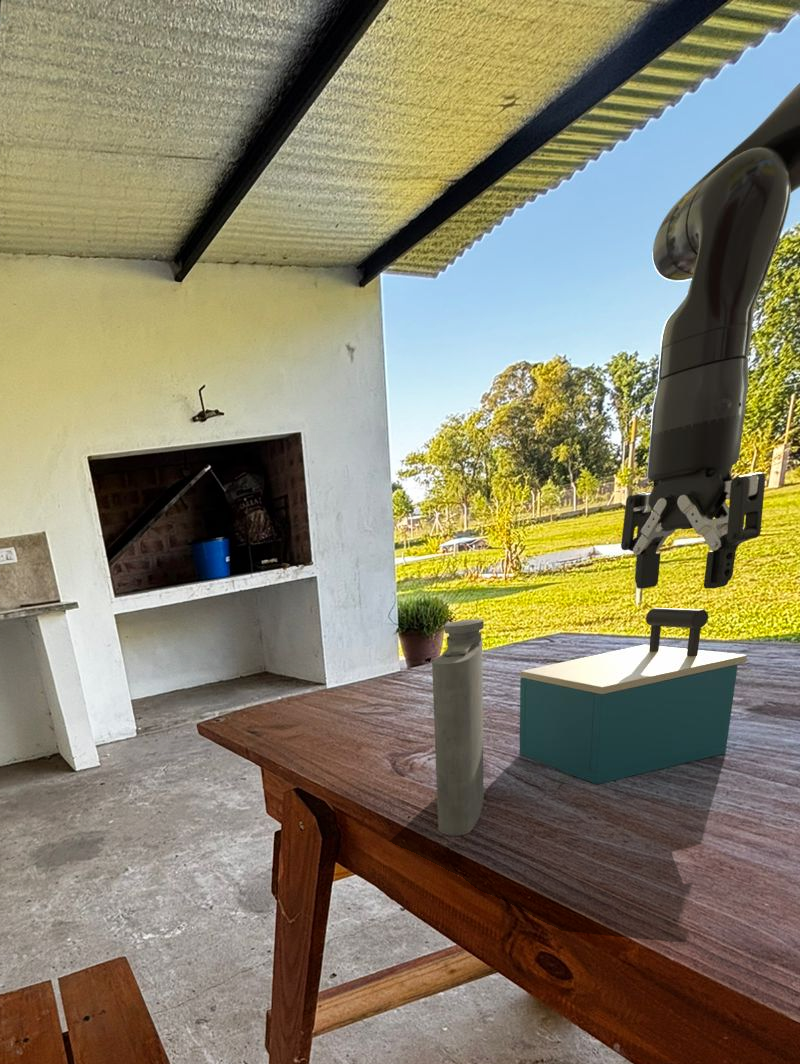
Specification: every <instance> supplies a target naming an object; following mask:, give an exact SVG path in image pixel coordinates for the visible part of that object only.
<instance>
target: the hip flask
mask: <svg viewBox="0 0 800 1064" xmlns="http://www.w3.org/2000/svg"><path fill="white" fill-rule="evenodd" d="M484 623H485V621H484V619H480V618H472V619H471V618H470V619H462V620H456V621H450V622H448V623H445V624H444V626H443V627H444V633H445V634H447V635H448V636H446V645H447V648H446V649H445V651H444V652H443V653H442V654H440V655H439V656H438V657H437V658H435V659H433V660H432V661H431V668H432V669H431V672H432V695H433V696H432V698H433V722H434V725H433V726H434V727H433V728H434V748H435V749H434V750H435V775H436V778H435V779H436V804H437V805H436V807H437V830H438V832H440V833H441V834H443V835H446V836H451V837H459V836H465V835H467V834H469V833H471V832H472V830H473V829H474V827H475V826H476V825H477V823H478V821H479V819H480V816H481V814H482V810H483V806H484V798H485V797H484V795H485V793H484V699H483V698H484V694H483V693H484V692H483V691H484V689H483V686H484V685H483V683H484V682H483V679H484V678H483V674H484V673H483V638H482V632H480V631H481V630H483V629H484V625H485V624H484Z"/></svg>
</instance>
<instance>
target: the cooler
mask: <svg viewBox="0 0 800 1064" xmlns="http://www.w3.org/2000/svg"><path fill="white" fill-rule="evenodd" d="M738 666H739V664H737V665H732V666H728V667H723V668H719V669H714V670H710V671H705V672H701V673H696V674H692V675H687V676H683V677H678V678H674V679H669V680H665V681H660V682H656V683H651V684H647V685H642V686H638V687H633V688H629V689H624V690H620V691H615V692H611V693H606V694H597V693H592V692H588V691H583V690H578V689H573V688H569V687H564V686H559V685H554V684H550V683H545V682H540V681H535V680H531V679H526V678H521V677H520V679H519V682H520V683H519V685H520V688H519V755H521V756H524V757H526V758H529V759H531V760H533V761H536V762H538V763H541V764H544V765H546V766H549V767H552V768H554V769H557V770H558V771H562V772H564V773H566V774H569V775H571V776H575V777H577V778H579V779H582V780H584V781H587V782H589V783H592V784H595V785H599V784H603V783H607V782H612V781H616V780H619V779H620V780H621V779H625V778H628V777H633V776H638V775H641V774H644V773H650V772H654V771H657V770H662V769H666V768H671V767H675V766H679V765H684V764H687V763H692V762H696V761H700V760H704V759H709V758H712V757H717V756H721V755H725V754H727V747H728V746H727V745H728V740H729V733H730V724H731V717H732V709H733V703H734V695H735V689H736V682H737V681H736V680H737V673H738V668H739V667H738Z"/></svg>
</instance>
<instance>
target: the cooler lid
mask: <svg viewBox="0 0 800 1064" xmlns="http://www.w3.org/2000/svg"><path fill="white" fill-rule="evenodd" d="M708 621H709V613H708V611H707V610H705V609H699V608H698V609H695V608H693V609H692V608H671V607H670V608H668V607H667V608H666V607H653V608H651V609H649V611H647V614H646V616H645V622H646V624H647V625H649V626H650V637H649V638H650V639H649V644H640V645H636V646H632V647H627V648H621V649H617V650H612V651H607V652H603V653H598V654H594V655H589V656H585V657H579V658H575V659H571V660H567V661H561V662H556V663H552V664H546V665H542V666H539V667H533V668H529V669H525V670H520V675H519V676H520V678H526V679H531V680H535V681H540V682H545V683H550V684H554V685H559V686H564V687H569V688H573V689H578V690H583V691H588V692H592V693H597V694H606V693H611V692H615V691H620V690H624V689H629V688H633V687H638V686H642V685H647V684H651V683H656V682H660V681H665V680H669V679H674V678H678V677H683V676H687V675H692V674H696V673H701V672H705V671H710V670H714V669H719V668H723V667H728V666H732V665H740V664H745V663H747V659H748V655H747V654H739V653H730V652H721V651H713V650H711V651H710V650H703V649H702V650H701V649H699V646H700V637H701V628H703V627H705V625H706V624H707V622H708ZM661 627H665V628H666V627H667V628H678V629H680V628H681V629H689V631H688V639H687V648H683V647H673V646H665V645H663V646H662V645H660V641H661V629H662V628H661Z"/></svg>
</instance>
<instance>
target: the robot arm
mask: <svg viewBox="0 0 800 1064" xmlns="http://www.w3.org/2000/svg"><path fill="white" fill-rule="evenodd" d="M799 188H800V82H799V83H798V84H797V85H796V86H795V87H793V89H792V90H791V91H790V92H789V93H788V94H787V95H786V96H785V97H784V99H782V101H780V103H779V104H778V105H777V106H776V107H775V109H774V110H773V111H771V113H770V115H768V116H767V117H766V118H765V119H764V120H763V122H762V123H760V124H759V125H758V127H756V129H755V130H754V131H753V132H751V134H749V135H748V136H747V137H746V138H745V139H744V140H743V141H742V142H740V144H737V146H736V147H734V149H733V150H732V151H730V152H729V153H728V154H727V155H725V157H724V158H722V160H721V161H719V162H718V163H717V164H716V165H714V167H713V168H711V169H710V170H709V171H708V172H707V173H706V174H705V175H704V176H703V177H702V178H700V180H699V181H697V182H696V183H695V184H693V186H692V187H691V188H690V189H689V190H688V191H687V192H686V193H684V195H682V197H681V198H680V199H679V200H678V201H676V202H675V204H674V205H673V206H672V207H671V209H670V210H669V211H668V212H667V214H666V215H665V216H664V218H663V220H662V222H661V224H660V225H659V227H658V230H657V233H656V235H655V237H654V241H653V246H652V262H653V266H654V269H655V271H656V272H657V274H658V275H659V276H660V277H662V278H663V279H665V280H666V281H667V280H668V281H671V282H686V281H689V280H690V283H689V287H688V291H687V294H686V295H685V298H684V299H683V301H682V302H680V305H679V306H678V307H676V308H675V310H673V312H672V313H671V314H670V315H669V316H668V318H667V320H666V321H665V322H664V323H665V324H664V326H663V329H662V333H661V339H660V350H659V351H660V352H659V362H658V363H659V364H658V376H657V384H656V391H655V395H654V399H653V405H652V411H651V423H650V436H649V446H648V447H649V449H648V460H647V472H646V477H647V479H648V480H649V481H652V483H653V485H652V489H651V491H646V492H645V491H644V492H638V493H635V494H630V495H628V496H627V498H626V500H625V509H624V515H623V517H624V518H623V523H622V524H623V525H622V534H621V542H620V549H621V550H622V551H630V552H632V553H633V554H634V555H635V557H636V558H635V559H636V560H635V572H634V573H635V574H634V581H635V585H636V588H637V589H639V590H644V589H650V588H654V587H657V585H658V583H659V576H660V565H661V552H658V551H659V550H660V549H661V547H662V546H663V545H664V543H665V541H666V540H667V538H668V537H669V536H672V535H673V534H674V533H675V532H676V531H677V530H691V529H693V530H694V532H695V533H696V534H697V535H699V536H702V537H703V539H704V541H705V542H706V544H707V546H708V548H709V549H710V551H707V553H706V554H707V555H706V561H705V562H706V563H705V570H704V571H705V572H704V578H703V579H704V580H703V587H704V589H709V590H710V589H711V590H712V589H719V588H722V587H726V586H727V585H728V584H729V581H731V580H732V577H733V575H734V569H735V568H734V567H735V561H736V555H737V554H736V553H737V548H738V547H739V546H740V545H741V544H743V543H745V542H747V541H750V540H752V539H757V538H758V537H759V536H760V535H761V531H762V519H763V509H764V500H765V499H764V498H765V487H766V474H765V473H764V472H762V471H761V472H755V473H749V474H743V475H739V476H735V477H734V478H733V476H732V475H733V474H732V468H733V466H734V465H736V464H737V463H738V461H739V460H740V455H741V454H740V453H741V447H742V446H741V445H742V438H743V430H744V422H745V413H746V406H747V399H748V391H749V356H750V349H751V342H752V341H751V340H752V332H753V324H754V312H755V306H756V303H757V300H758V298H759V295H760V293H761V291H762V288H763V286H764V283H765V281H766V278H767V275H768V272H769V270H770V266H771V264H772V261H773V258H774V255H775V253H776V250H777V246H778V244H779V241H780V237H781V236H782V232H783V230H784V225H785V222H786V219H787V215H788V210H789V207H790V202H791V194H792V193H794V191H796V190H797V189H799ZM727 500H729V503H728V504H727V502H726V501H727ZM636 528H637V530H636V537H635V529H636Z"/></svg>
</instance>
